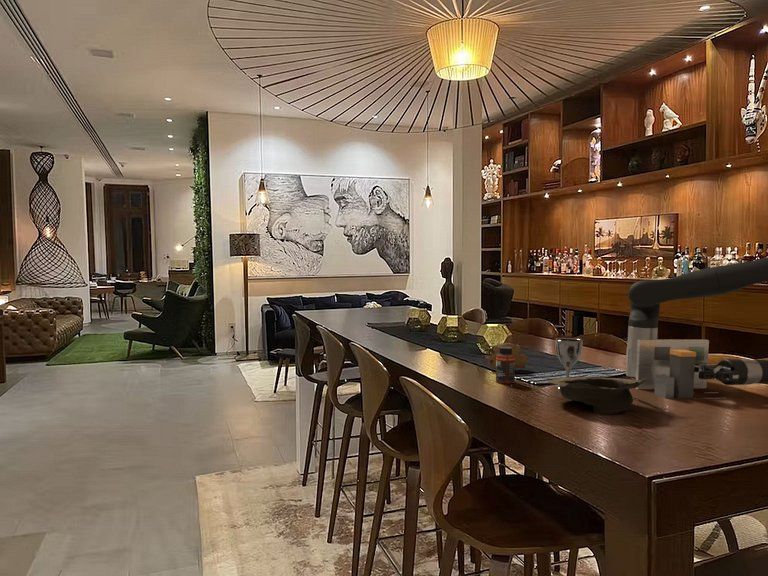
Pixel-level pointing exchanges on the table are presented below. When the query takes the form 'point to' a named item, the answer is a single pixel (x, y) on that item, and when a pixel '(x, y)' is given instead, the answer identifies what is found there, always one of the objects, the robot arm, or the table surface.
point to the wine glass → (568, 352)
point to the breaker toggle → (682, 372)
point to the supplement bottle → (505, 366)
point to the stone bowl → (599, 392)
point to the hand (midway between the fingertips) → (689, 372)
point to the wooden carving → (519, 358)
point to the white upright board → (667, 364)
